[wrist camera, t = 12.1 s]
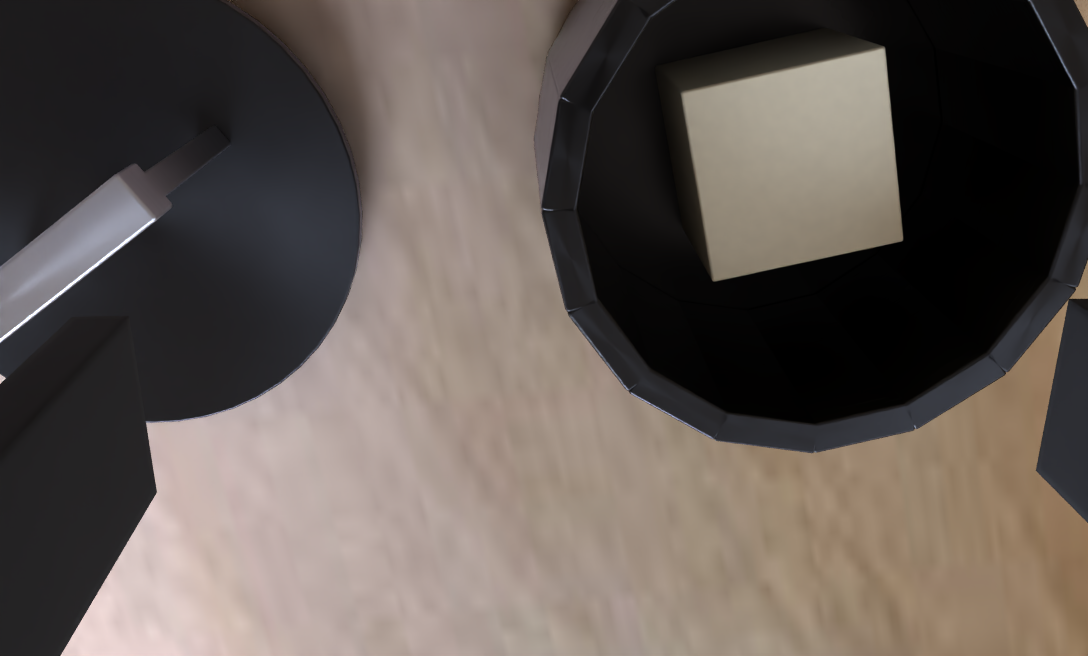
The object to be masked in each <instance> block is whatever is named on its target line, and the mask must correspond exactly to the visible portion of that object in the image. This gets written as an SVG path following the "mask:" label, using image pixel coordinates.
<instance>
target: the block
mask: <svg viewBox="0 0 1088 656" xmlns="http://www.w3.org/2000/svg"><path fill="white" fill-rule="evenodd" d="M655 73H656V78H657V84H658V90H659V96H660V101H661V107H662V113H663V118H664V124H665V130H666V136H667V141H668V147H669V153H670V158H671V164H672V170H673V175H674V181H675V187H676V193H677V198H678V204H679V210H680V215H681V221H682V227H683V230H684V232H685V233H686V235H687V237H688V239H689V241H690V242H691V244H692V246H693V248H694V249H695V251H696V253H697V255H698V256H699V258H700V260H701V262H702V264H703V265H704V267H705V269H706V271H707V272H708V274H709V276H710V278H711V279H712V281H714V282H715V281H720V280H725V279H729V278H734V277H739V276H743V275H748V274H753V273H757V272H762V271H767V270H771V269H776V268H781V267H785V266H790V265H795V264H799V263H804V262H809V261H813V260H818V259H823V258H827V257H832V256H837V255H841V254H846V253H851V252H855V251H860V250H865V249H869V248H874V247H879V246H883V245H888V244H893V243H897V242H901V241H903V230H902V219H901V209H900V198H899V187H898V177H897V166H896V156H895V145H894V135H893V124H892V114H891V103H890V93H889V82H888V72H887V61H886V51H885V47H884V46H881V45H878V44H875V43H872V42H869V41H866V40H862V39H859V38H856V37H853V36H850V35H847V34H844V33H841V32H838V31H835V30H832V29H828V28H821V29H817V30H812V31H808V32H804V33H799V34H795V35H790V36H786V37H781V38H777V39H773V40H768V41H764V42H759V43H755V44H750V45H746V46H742V47H737V48H733V49H728V50H724V51H719V52H715V53H711V54H706V55H702V56H697V57H693V58H688V59H684V60H680V61H675V62H671V63H666V64H662V65H657V66H656V67H655Z"/></svg>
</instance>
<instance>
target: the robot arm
mask: <svg viewBox="0 0 1088 656" xmlns="http://www.w3.org/2000/svg"><path fill="white" fill-rule="evenodd" d="M1036 471H1037V472H1038V473H1039V474H1040V475H1041V476H1042V477H1043V478H1044V479H1045V480H1046V481H1047V482H1048V483H1049V484H1050V485H1051V486H1052V487H1053V488H1054V489H1055V490H1056V491H1057V492H1058V493H1059V494H1060V495H1061V496H1062V497H1063V498H1064V499H1065V500H1066V501H1067V502H1068V503H1069V504H1070V505H1071V506H1072V507H1073V508H1074V509H1075V510H1076V511H1077V512H1078V513H1079V514H1080V515H1081V516H1082V517H1083V518H1084V519H1085V520H1086V521H1087V523H1088V299H1069V301H1068V306H1067V312H1066V317H1065V322H1064V327H1063V333H1062V338H1061V343H1060V348H1059V353H1058V359H1057V364H1056V369H1055V374H1054V379H1053V385H1052V390H1051V395H1050V400H1049V405H1048V411H1047V416H1046V421H1045V426H1044V431H1043V437H1042V442H1041V447H1040V452H1039V457H1038V463H1037V468H1036ZM156 493H157V491H156V484H155V478H154V471H153V465H152V459H151V452H150V446H149V440H148V433H147V427H146V420H145V414H144V408H143V401H142V395H141V389H140V382H139V376H138V369H137V363H136V357H135V350H134V344H133V338H132V331H131V325H130V318H129V316H93V317H71V318H70V319H69V320H68V321H67V322H66V323H65V324H64V325H63V326H62V327H61V328H60V329H58V330H57V331H56V332H55V333H54V334H53V335H52V336H51V337H50V338H49V339H48V340H47V341H46V342H45V343H44V344H42V345H41V346H40V347H39V348H38V349H37V350H36V351H35V352H34V353H33V354H32V355H31V356H30V357H29V358H27V359H26V360H25V361H24V362H23V363H22V364H21V365H20V366H19V367H18V368H17V369H16V370H15V371H14V372H13V373H11V374H10V375H9V376H8V377H7V378H6V379H5V380H4V381H3V382H2V383H1V384H0V656H60V655H61V654H62V652H63V650H64V649H65V647H66V645H67V644H68V642H69V640H70V639H71V637H72V635H73V633H74V632H75V630H76V628H77V627H78V625H79V623H80V622H81V620H82V618H83V617H84V615H85V613H86V611H87V610H88V608H89V606H90V605H91V603H92V601H93V600H94V598H95V596H96V595H97V593H98V591H99V589H100V588H101V586H102V584H103V583H104V581H105V579H106V578H107V576H108V574H109V573H110V571H111V569H112V567H113V566H114V564H115V562H116V561H117V559H118V557H119V556H120V554H121V552H122V551H123V549H124V547H125V545H126V544H127V542H128V540H129V539H130V537H131V535H132V534H133V532H134V530H135V528H136V527H137V525H138V523H139V522H140V520H141V518H142V517H143V515H144V513H145V512H146V510H147V508H148V506H149V505H150V503H151V501H152V500H153V498H154V496H155V495H156Z"/></svg>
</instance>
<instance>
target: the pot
mask: <svg viewBox="0 0 1088 656" xmlns="http://www.w3.org/2000/svg"><path fill="white" fill-rule="evenodd" d="M821 28H828V29H832V30H835V31H838V32H841V33H844V34H847V35H850V36H853V37H856V38H859V39H862V40H866V41H869V42H872V43H875V44H878V45H881V46H884V47H885V51H886V61H887V72H888V82H889V93H890V103H891V114H892V124H893V135H894V145H895V156H896V166H897V177H898V187H899V198H900V209H901V219H902V230H903V241H901V242H897V243H893V244H888V245H883V246H879V247H874V248H869V249H865V250H860V251H855V252H851V253H846V254H841V255H837V256H832V257H827V258H823V259H818V260H813V261H809V262H804V263H799V264H795V265H790V266H785V267H781V268H776V269H771V270H767V271H762V272H757V273H753V274H748V275H743V276H739V277H734V278H729V279H725V280H720V281H715V282H714V281H712V279H711V278H710V276H709V274H708V272H707V271H706V269H705V267H704V265H703V264H702V262H701V260H700V258H699V256H698V255H697V253H696V251H695V249H694V248H693V246H692V244H691V242H690V241H689V239H688V237H687V235H686V233H685V232H684V230H683V227H682V221H681V215H680V210H679V204H678V198H677V193H676V187H675V181H674V175H673V170H672V164H671V158H670V153H669V147H668V141H667V136H666V130H665V124H664V118H663V113H662V107H661V101H660V96H659V90H658V84H657V78H656V73H655V67H656V66H657V65H662V64H666V63H671V62H675V61H680V60H684V59H688V58H693V57H697V56H702V55H706V54H711V53H715V52H719V51H724V50H728V49H733V48H737V47H742V46H746V45H750V44H755V43H759V42H764V41H768V40H773V39H777V38H781V37H786V36H790V35H795V34H799V33H804V32H808V31H812V30H817V29H821ZM534 147H535V157H536V166H537V176H538V185H539V194H540V204H541V213H542V218H543V222H544V226H545V230H546V234H547V238H548V242H549V246H550V250H551V254H552V258H553V262H554V266H555V270H556V274H557V278H558V282H559V286H560V290H561V294H562V298H563V302H564V306H565V309H566V311H567V312H568V315H569V317H570V318H571V319H572V321H573V322H574V323H575V325H576V326H577V327H578V329H579V330H580V331H581V332H582V334H583V335H584V336H585V338H586V339H587V340H588V341H589V343H590V344H591V345H592V347H593V348H594V349H595V350H596V352H597V353H598V354H599V356H600V357H601V358H602V360H603V361H604V362H605V363H606V365H607V366H608V367H609V369H610V370H611V371H612V372H613V374H614V375H615V376H616V378H617V379H618V380H619V381H620V383H621V384H622V385H623V387H624V388H625V389H626V390H628V391H629V393H630V394H632V395H634V396H636V397H637V398H639V399H641V400H643V401H645V402H646V403H648V404H650V405H652V406H654V407H655V408H657V409H659V410H661V411H663V412H664V413H666V414H668V415H670V416H672V417H673V418H675V419H677V420H679V421H681V422H682V423H684V424H686V425H688V426H690V427H691V428H693V429H695V430H697V431H699V432H700V433H702V434H704V435H706V436H708V437H709V438H711V439H715V440H716V441H722V442H730V443H737V444H745V445H753V446H761V447H769V448H776V449H784V450H792V451H800V452H807V453H814V452H821V451H825V450H830V449H834V448H839V447H843V446H848V445H852V444H857V443H861V442H865V441H870V440H874V439H879V438H883V437H888V436H892V435H896V434H901V433H905V432H910V431H913V430H914V429H918V428H920V427H921V426H923V425H925V424H926V423H928V422H929V421H931V420H933V419H934V418H936V417H938V416H939V415H941V414H942V413H944V412H946V411H947V410H949V409H951V408H952V407H954V406H955V405H957V404H959V403H960V402H962V401H964V400H965V399H967V398H968V397H970V396H972V395H973V394H975V393H977V392H978V391H980V390H981V389H983V388H985V387H986V386H988V385H990V384H991V383H993V382H994V381H996V380H998V379H999V378H1001V377H1003V376H1004V375H1005V374H1006V372H1008V371H1010V369H1011V368H1012V367H1013V366H1014V365H1015V363H1016V362H1017V361H1018V360H1019V359H1020V357H1021V356H1022V355H1023V354H1024V352H1025V351H1026V350H1027V349H1028V348H1029V346H1030V345H1031V344H1032V343H1033V342H1034V340H1035V339H1036V338H1037V337H1038V336H1039V334H1040V333H1041V332H1042V331H1043V330H1044V328H1045V327H1046V326H1047V325H1048V323H1049V322H1050V321H1051V320H1052V319H1053V317H1054V316H1055V315H1056V314H1057V313H1058V311H1059V310H1060V309H1061V308H1062V307H1063V305H1064V304H1065V303H1066V302H1067V300H1068V299H1069V298H1070V297H1071V296H1072V294H1073V293H1074V292H1075V290H1076V288H1075V287H1078V285H1079V283H1080V280H1081V277H1082V274H1083V272H1084V269H1085V266H1086V263H1087V261H1088V27H1087V25H1086V23H1085V21H1084V19H1083V17H1082V16H1081V14H1080V12H1079V10H1078V8H1077V6H1076V4H1075V2H1074V0H578V2H577V3H576V4H575V6H574V7H573V9H572V10H571V12H570V13H569V15H568V17H567V19H566V21H565V23H564V25H563V27H562V29H561V31H560V33H559V35H558V36H557V38H556V40H555V41H554V43H553V45H552V46H551V48H550V50H549V52H548V56H547V57H546V63H545V70H544V76H543V83H542V87H541V92H540V97H539V108H538V115H537V122H536V128H535V135H534Z"/></svg>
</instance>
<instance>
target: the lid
mask: <svg viewBox="0 0 1088 656" xmlns="http://www.w3.org/2000/svg"><path fill="white" fill-rule="evenodd" d="M361 241H362V204H361V194H360V185H359V179H358V175H357V171H356V167H355V163H354V159H353V155H352V152H351V149H350V146H349V144H348V141H347V138H346V136H345V133H344V131H343V128H342V125H341V123H340V121H339V119H338V117H337V116H336V114H335V112H334V110H333V108H332V106H331V104H330V103H329V101H328V99H327V97H326V95H325V94H324V92H323V91H322V89H321V88H320V87H319V85H318V84H317V82H316V81H315V80H314V78H313V77H312V75H311V74H310V72H309V71H308V70H307V68H306V67H305V66H304V65H303V64H302V63H301V62H300V61H299V59H298V58H297V57H296V56H295V55H294V54H293V53H292V52H291V51H290V49H289V48H288V47H287V46H286V45H285V44H284V43H283V42H282V41H281V40H279V39H278V38H277V37H276V36H275V35H274V34H273V33H271V32H270V31H269V30H268V29H267V28H266V27H265V26H263V25H262V24H261V23H260V22H259V21H257V20H256V19H254V18H253V17H251V16H250V15H249V14H247V13H246V12H244V11H243V10H241V9H240V8H238V7H237V6H235V5H234V4H232V3H231V2H229V1H227V0H0V374H1V375H2V376H4V377H5V378H7V377H8V376H9V375H10V374H11V373H13V372H14V371H15V370H16V369H17V368H18V367H19V366H20V365H21V364H22V363H23V362H24V361H25V360H26V359H27V358H29V357H30V356H31V355H32V354H33V353H34V352H35V351H36V350H37V349H38V348H39V347H40V346H41V345H42V344H44V343H45V342H46V341H47V340H48V339H49V338H50V337H51V336H52V335H53V334H54V333H55V332H56V331H57V330H58V329H60V328H61V327H62V326H63V325H64V324H65V323H66V322H67V321H68V320H69V319H70V318H71V317H93V316H129V318H130V325H131V331H132V338H133V344H134V350H135V357H136V363H137V369H138V376H139V382H140V389H141V395H142V401H143V408H144V414H145V420H146V422H148V423H154V422H174V421H183V420H189V419H195V418H201V417H207V416H210V415H213V414H217V413H220V412H223V411H227V410H230V409H233V408H236V407H238V406H240V405H242V404H244V403H247V402H249V401H251V400H253V399H256V398H258V397H259V396H261V395H263V394H264V393H266V392H268V391H269V390H271V389H272V388H274V387H276V386H277V385H279V384H280V383H282V382H283V381H284V380H285V379H287V378H288V377H289V376H290V375H291V374H293V373H294V372H295V371H296V370H297V369H299V368H300V367H301V366H302V365H303V364H304V363H305V362H306V361H307V359H308V358H309V357H310V356H311V355H312V354H313V353H314V352H315V351H316V350H317V348H318V347H319V346H320V345H321V343H322V342H323V340H324V339H325V337H326V336H327V334H328V333H329V331H330V330H331V328H332V327H333V326H334V324H335V322H336V320H337V318H338V316H339V314H340V312H341V310H342V308H343V306H344V303H345V301H346V299H347V297H348V295H349V292H350V289H351V285H352V282H353V279H354V276H355V273H356V270H357V265H358V259H359V253H360V247H361Z"/></svg>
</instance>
